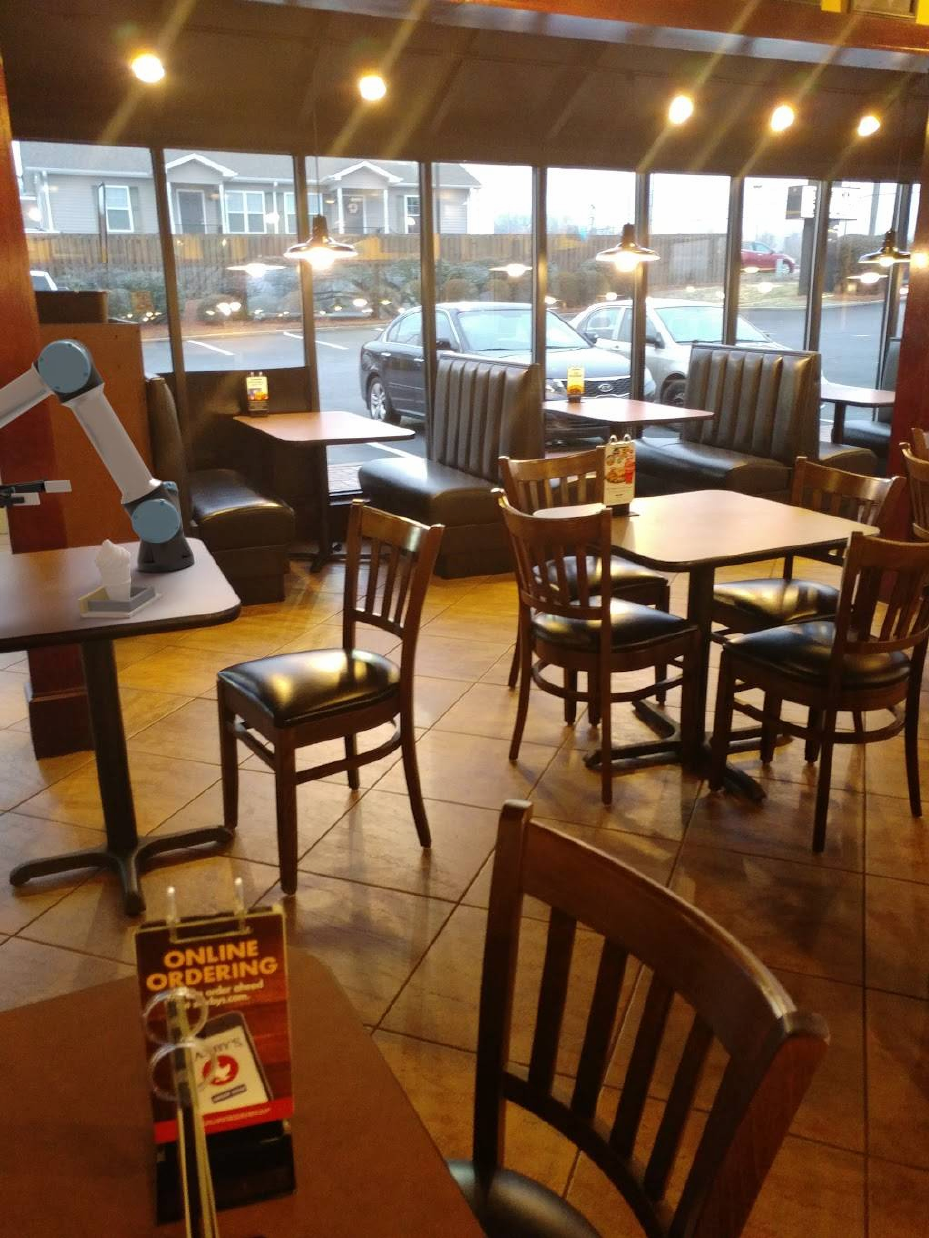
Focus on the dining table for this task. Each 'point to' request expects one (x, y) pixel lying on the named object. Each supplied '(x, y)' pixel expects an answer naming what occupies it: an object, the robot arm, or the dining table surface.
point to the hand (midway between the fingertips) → (54, 492)
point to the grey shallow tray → (117, 603)
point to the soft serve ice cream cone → (115, 570)
